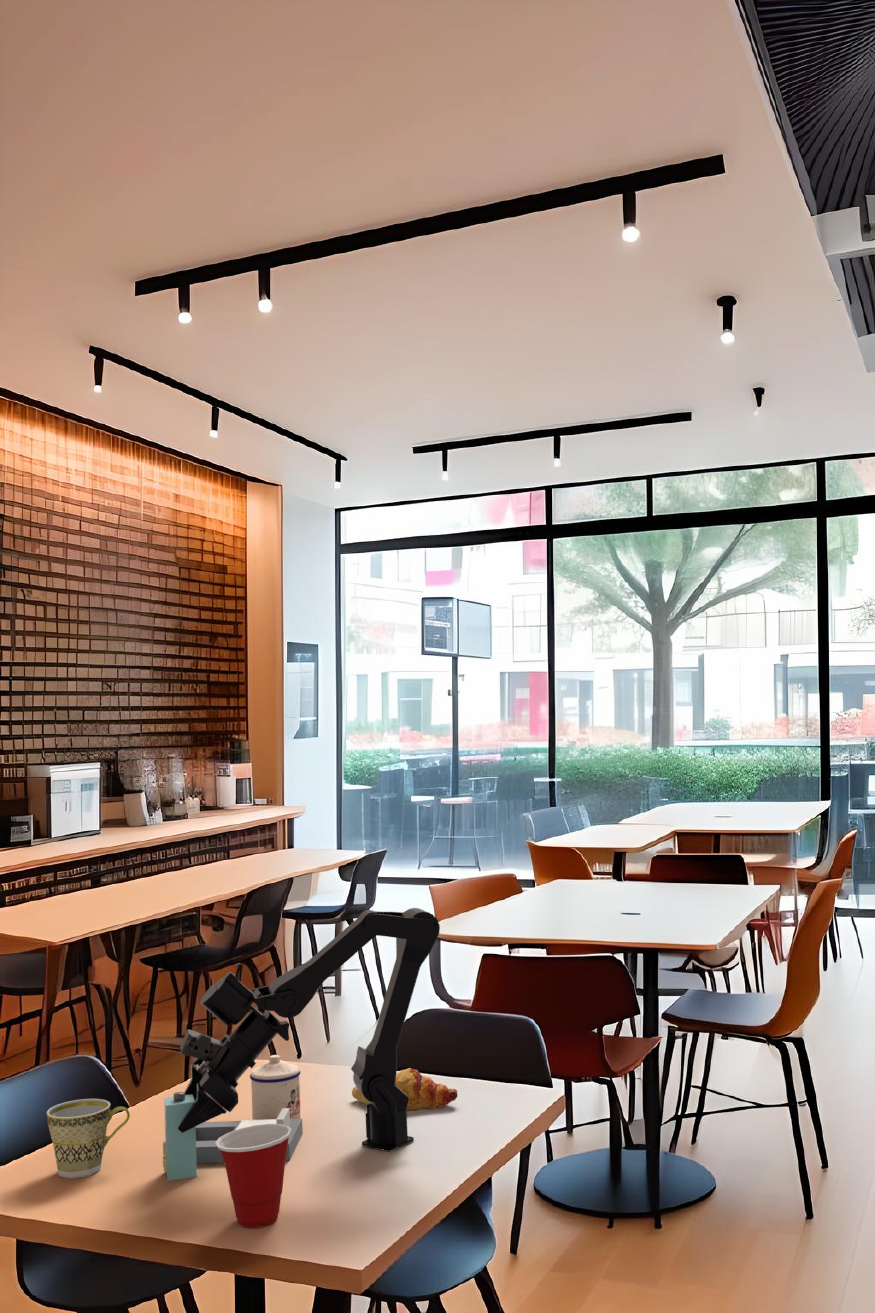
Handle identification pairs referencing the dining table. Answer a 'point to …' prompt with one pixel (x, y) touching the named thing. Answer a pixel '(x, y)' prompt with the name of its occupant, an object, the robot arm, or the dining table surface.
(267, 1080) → the teacup with lid
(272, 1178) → the plastic cup
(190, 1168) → the teal rectangular bottle
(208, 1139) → the socket plate
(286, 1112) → the panel
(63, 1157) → the ceramic cup
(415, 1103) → the croissant
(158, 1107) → the dining table surface
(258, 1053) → the robot arm
